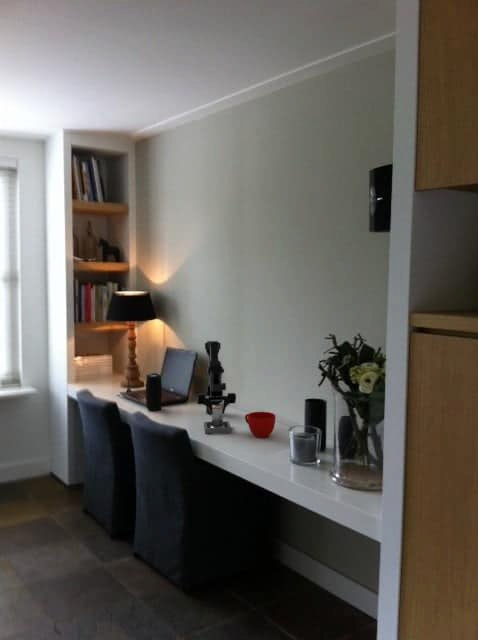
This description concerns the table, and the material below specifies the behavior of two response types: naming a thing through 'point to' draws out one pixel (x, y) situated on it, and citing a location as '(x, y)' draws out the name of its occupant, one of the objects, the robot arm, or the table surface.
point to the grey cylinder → (217, 416)
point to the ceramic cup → (261, 423)
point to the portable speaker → (153, 392)
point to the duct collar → (217, 430)
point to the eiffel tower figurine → (127, 389)
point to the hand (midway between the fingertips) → (217, 413)
